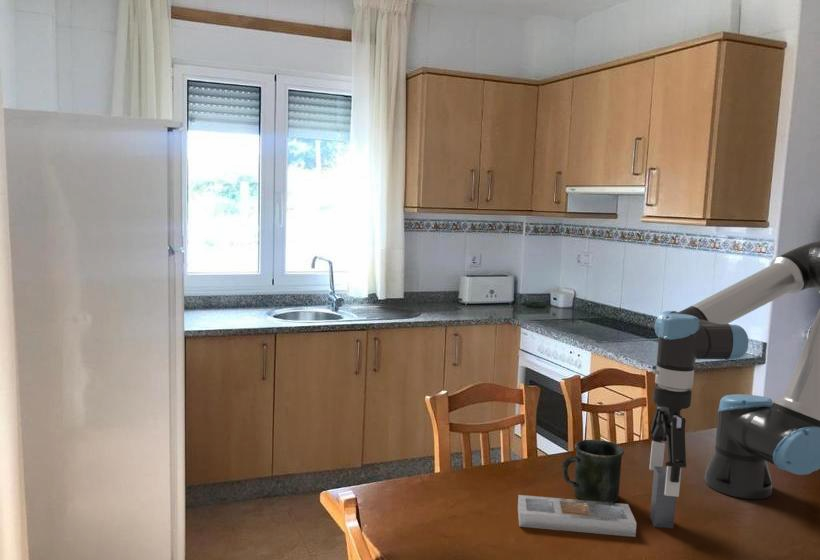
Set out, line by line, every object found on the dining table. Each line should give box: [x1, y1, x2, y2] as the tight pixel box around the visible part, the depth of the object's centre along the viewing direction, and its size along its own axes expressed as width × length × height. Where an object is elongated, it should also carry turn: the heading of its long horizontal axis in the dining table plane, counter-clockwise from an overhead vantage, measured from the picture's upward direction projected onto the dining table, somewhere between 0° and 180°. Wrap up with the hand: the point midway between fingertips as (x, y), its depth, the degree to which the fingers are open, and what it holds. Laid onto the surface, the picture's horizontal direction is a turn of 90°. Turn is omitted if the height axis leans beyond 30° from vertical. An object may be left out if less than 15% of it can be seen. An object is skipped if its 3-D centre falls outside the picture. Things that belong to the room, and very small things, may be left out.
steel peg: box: [649, 466, 677, 529], centre depth 148 cm, size 4×4×12 cm
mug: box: [561, 439, 625, 503], centre depth 160 cm, size 11×15×12 cm
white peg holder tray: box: [517, 494, 638, 538], centre depth 147 cm, size 24×9×3 cm, turn 83°
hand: (663, 482), depth 147 cm, fingers open, 13 cm apart
